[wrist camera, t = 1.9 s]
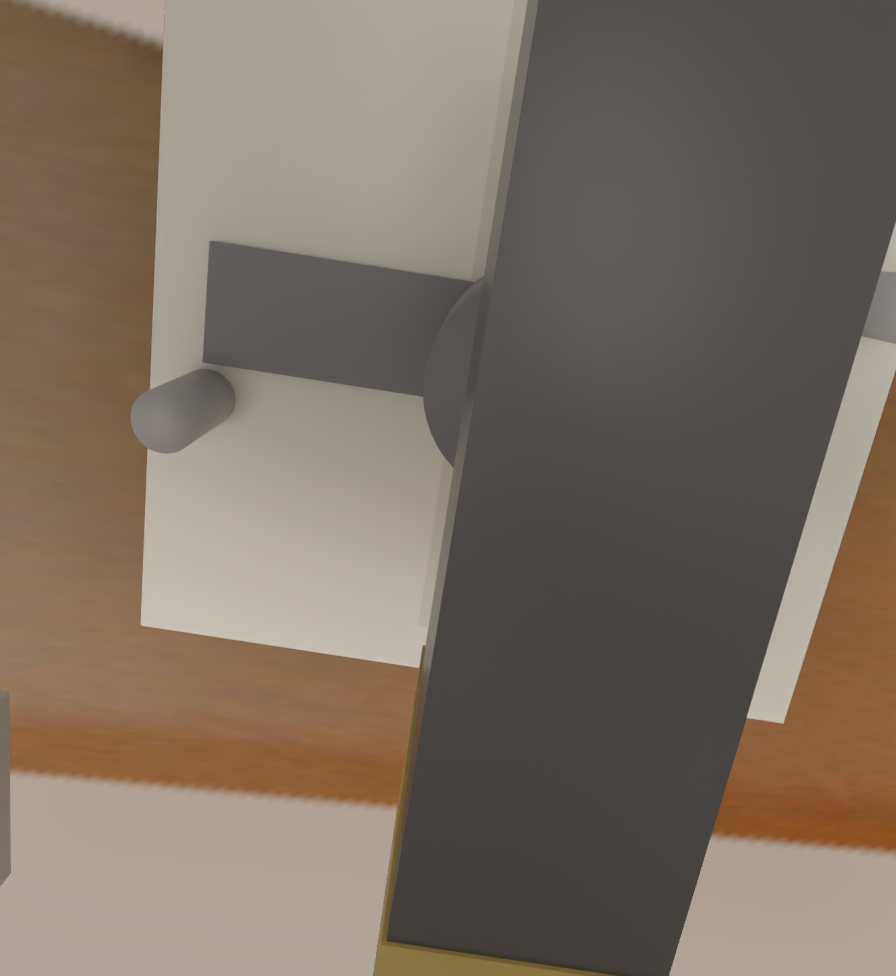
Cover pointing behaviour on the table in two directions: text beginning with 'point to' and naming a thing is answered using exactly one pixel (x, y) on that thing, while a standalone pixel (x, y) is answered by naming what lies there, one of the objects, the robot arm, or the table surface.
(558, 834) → the grey yellow rectangular block
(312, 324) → the base plate
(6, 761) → the robot arm
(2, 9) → the table surface
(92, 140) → the table surface
